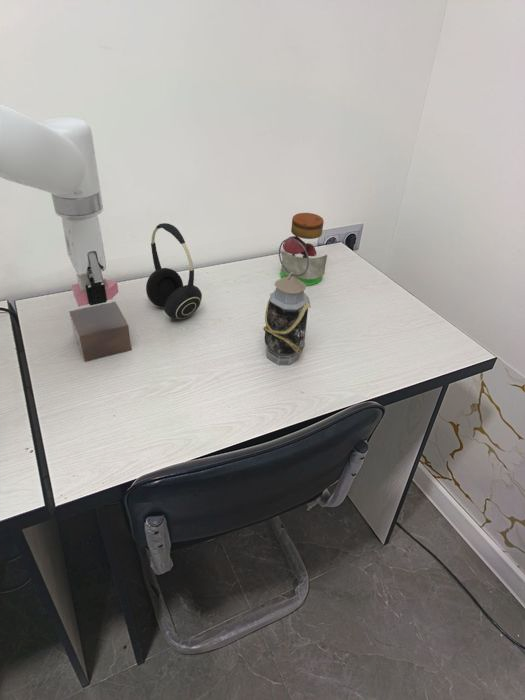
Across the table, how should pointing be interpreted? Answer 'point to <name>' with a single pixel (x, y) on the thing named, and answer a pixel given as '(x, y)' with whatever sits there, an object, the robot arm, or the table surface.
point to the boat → (81, 293)
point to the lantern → (286, 318)
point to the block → (100, 331)
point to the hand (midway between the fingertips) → (94, 296)
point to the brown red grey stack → (307, 229)
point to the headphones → (172, 283)
